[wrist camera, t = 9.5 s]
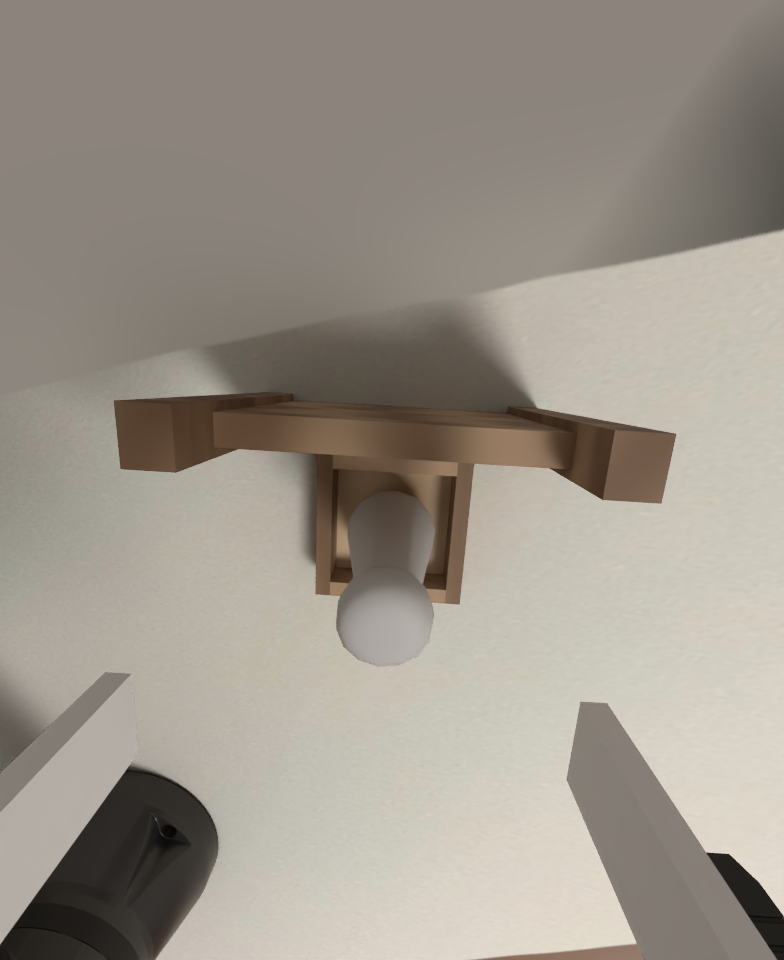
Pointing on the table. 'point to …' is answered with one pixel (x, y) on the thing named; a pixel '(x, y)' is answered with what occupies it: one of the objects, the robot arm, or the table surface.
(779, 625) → the table surface
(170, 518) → the table surface
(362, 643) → the salt shaker
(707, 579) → the table surface
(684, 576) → the table surface
